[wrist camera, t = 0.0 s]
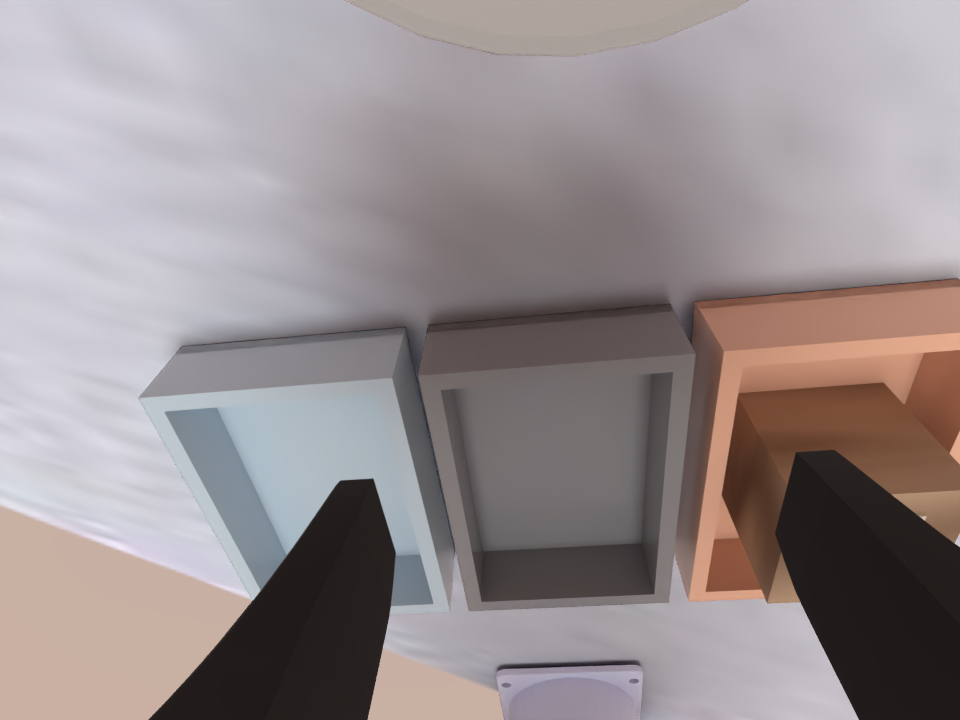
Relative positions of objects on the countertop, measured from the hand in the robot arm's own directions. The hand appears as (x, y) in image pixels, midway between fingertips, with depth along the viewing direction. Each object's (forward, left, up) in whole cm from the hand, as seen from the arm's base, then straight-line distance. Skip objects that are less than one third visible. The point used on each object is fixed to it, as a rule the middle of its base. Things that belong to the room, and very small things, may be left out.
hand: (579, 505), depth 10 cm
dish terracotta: (-8, -9, -10) cm, 16 cm away
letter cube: (-8, -9, -10) cm, 15 cm away
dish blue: (-8, +9, -10) cm, 16 cm away
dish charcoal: (-8, 0, -10) cm, 13 cm away
